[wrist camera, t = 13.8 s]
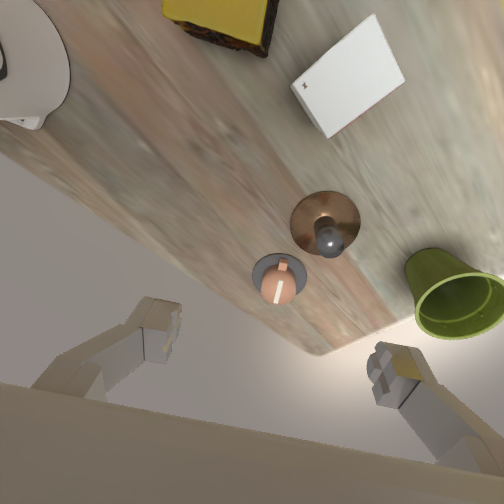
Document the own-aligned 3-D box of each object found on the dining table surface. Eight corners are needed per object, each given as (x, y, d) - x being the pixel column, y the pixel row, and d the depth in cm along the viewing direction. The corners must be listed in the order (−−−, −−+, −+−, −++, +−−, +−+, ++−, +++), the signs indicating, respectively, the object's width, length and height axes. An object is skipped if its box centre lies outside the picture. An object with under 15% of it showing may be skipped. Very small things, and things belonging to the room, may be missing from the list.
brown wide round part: (284, 246, 48) (284, 271, 42) (299, 185, 43) (302, 203, 36) (346, 257, 48) (356, 285, 42) (369, 198, 43) (385, 218, 36)
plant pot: (480, 240, 44) (534, 282, 35) (444, 297, 50) (481, 346, 41) (406, 228, 45) (440, 266, 35) (379, 286, 51) (401, 332, 41)
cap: (267, 254, 49) (265, 267, 45) (300, 260, 49) (301, 274, 45) (258, 293, 54) (256, 308, 50) (289, 299, 54) (289, 314, 50)
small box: (314, 126, 39) (326, 141, 27) (288, 85, 36) (289, 83, 25) (369, 84, 36) (408, 81, 24) (344, 36, 33) (373, 8, 22)
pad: (249, 292, 54) (248, 294, 54) (257, 248, 49) (257, 250, 49) (299, 301, 54) (299, 303, 54) (312, 259, 49) (313, 260, 49)
